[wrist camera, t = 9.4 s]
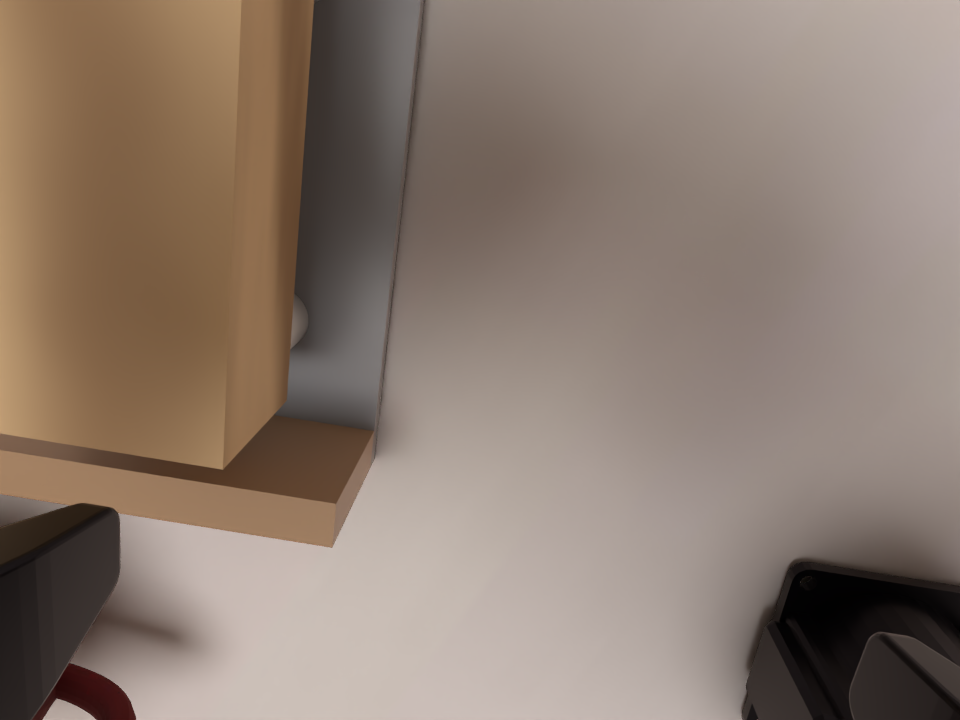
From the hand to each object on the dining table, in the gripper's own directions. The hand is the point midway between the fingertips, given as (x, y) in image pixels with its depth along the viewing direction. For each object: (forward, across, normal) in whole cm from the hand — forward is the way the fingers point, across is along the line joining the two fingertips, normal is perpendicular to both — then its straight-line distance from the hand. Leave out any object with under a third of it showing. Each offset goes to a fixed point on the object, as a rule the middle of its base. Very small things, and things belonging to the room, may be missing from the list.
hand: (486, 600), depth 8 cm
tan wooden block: (+10, +8, -4) cm, 13 cm away
